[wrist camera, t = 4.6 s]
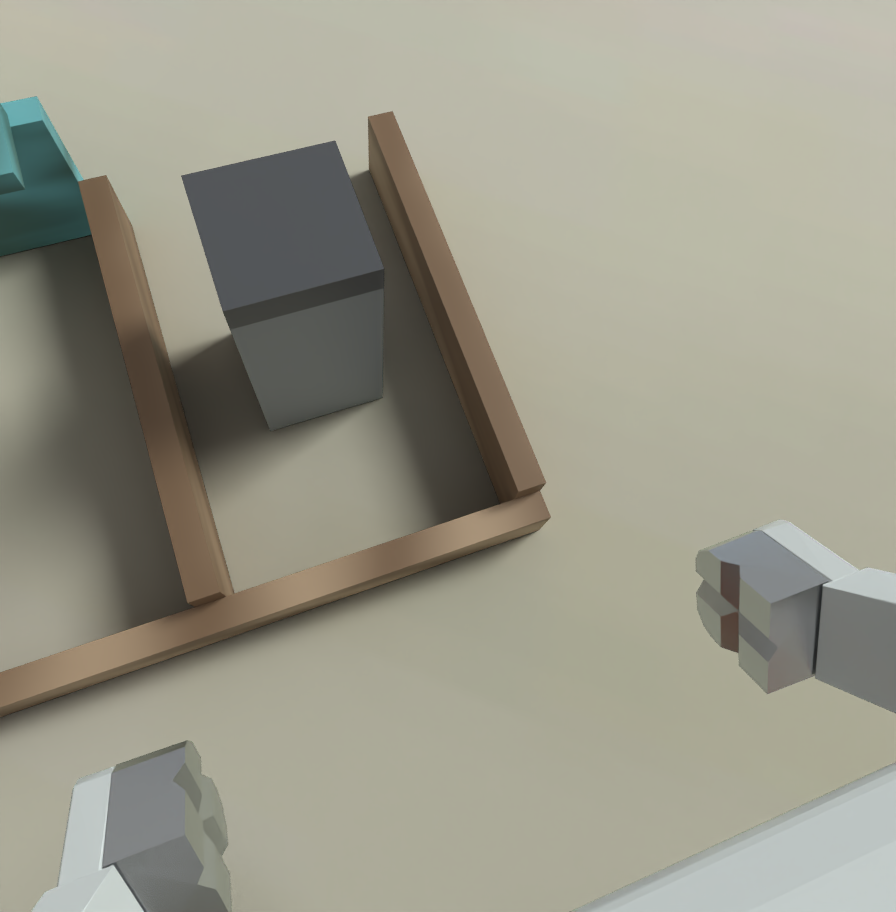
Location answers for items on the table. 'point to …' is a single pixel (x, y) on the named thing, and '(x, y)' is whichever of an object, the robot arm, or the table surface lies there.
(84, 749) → the table surface
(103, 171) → the table surface
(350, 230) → the tall grey block
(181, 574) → the frame
